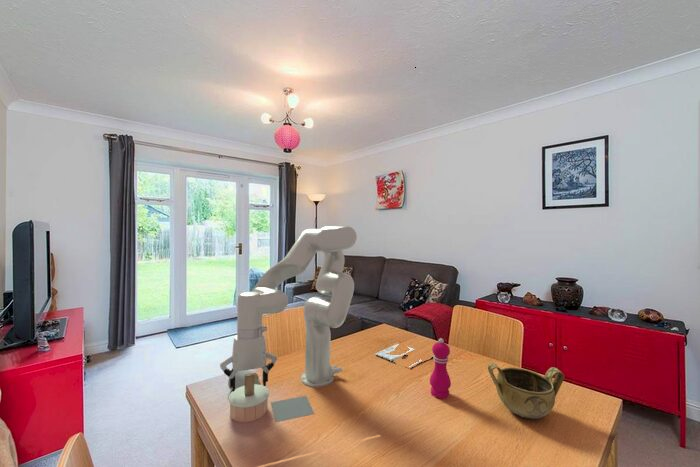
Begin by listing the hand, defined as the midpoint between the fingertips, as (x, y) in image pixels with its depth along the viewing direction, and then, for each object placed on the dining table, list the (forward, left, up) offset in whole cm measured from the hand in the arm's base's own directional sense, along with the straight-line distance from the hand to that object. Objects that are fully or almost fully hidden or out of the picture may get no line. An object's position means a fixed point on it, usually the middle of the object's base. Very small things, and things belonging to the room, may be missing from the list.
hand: (249, 386), depth 97 cm
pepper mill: (-64, +12, -8) cm, 66 cm away
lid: (0, 0, -4) cm, 4 cm away
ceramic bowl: (-83, +30, -8) cm, 89 cm away
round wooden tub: (0, 0, -8) cm, 8 cm away
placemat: (-13, +3, -8) cm, 16 cm away
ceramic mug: (0, -15, -8) cm, 17 cm away
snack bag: (-69, -20, -9) cm, 72 cm away
